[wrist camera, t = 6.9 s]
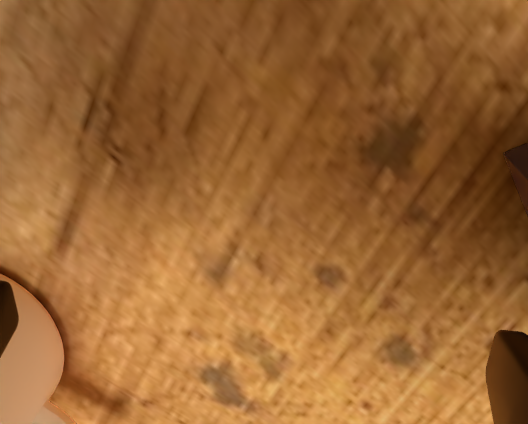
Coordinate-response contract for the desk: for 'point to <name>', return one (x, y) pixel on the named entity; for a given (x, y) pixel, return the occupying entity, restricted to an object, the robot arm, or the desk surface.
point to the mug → (31, 365)
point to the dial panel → (519, 170)
